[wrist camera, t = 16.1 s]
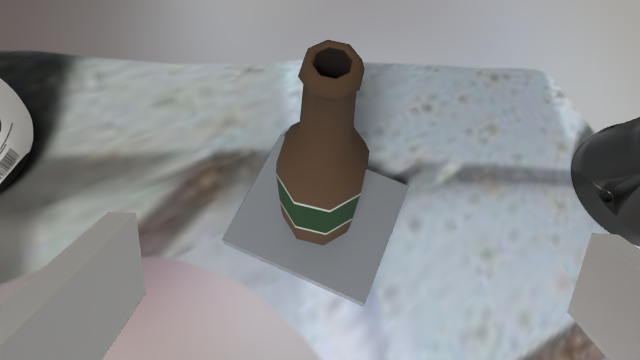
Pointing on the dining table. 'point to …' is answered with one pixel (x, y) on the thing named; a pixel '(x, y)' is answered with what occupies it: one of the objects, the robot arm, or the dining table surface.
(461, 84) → the dining table surface
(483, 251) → the dining table surface
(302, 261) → the slate board
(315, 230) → the beer bottle
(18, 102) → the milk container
